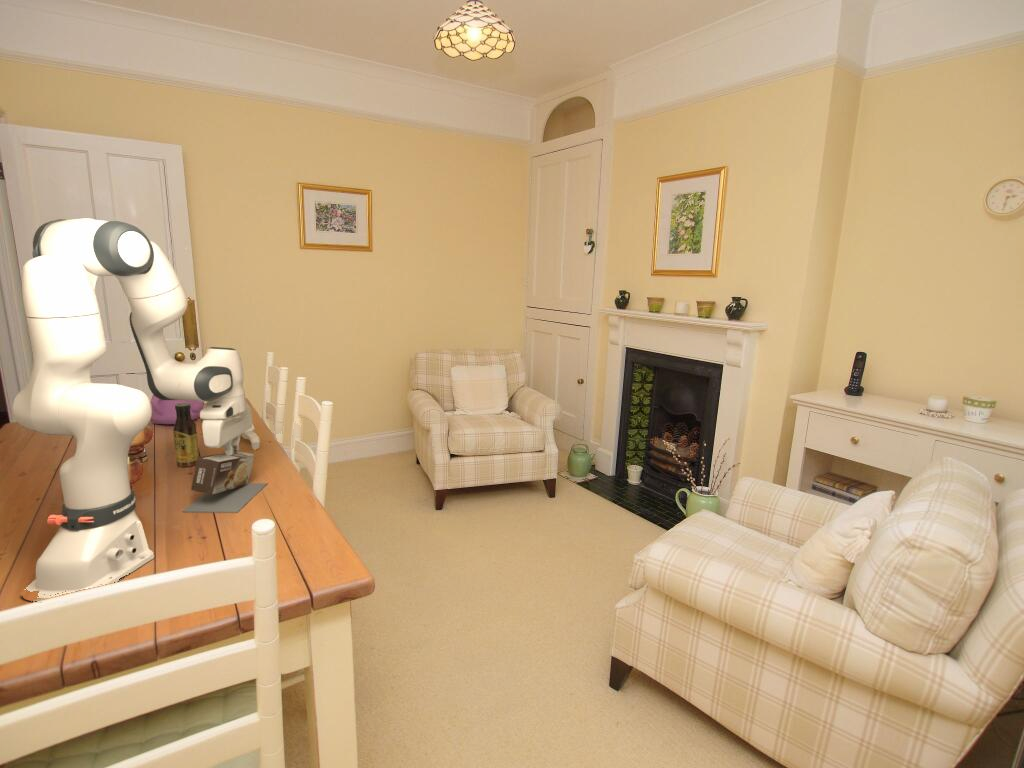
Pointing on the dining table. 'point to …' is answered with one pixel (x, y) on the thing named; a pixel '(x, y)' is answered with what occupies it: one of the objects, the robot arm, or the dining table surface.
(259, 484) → the mat
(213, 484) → the coffee box
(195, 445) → the sauce bottle
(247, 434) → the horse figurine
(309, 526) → the dining table surface
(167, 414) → the teapot
